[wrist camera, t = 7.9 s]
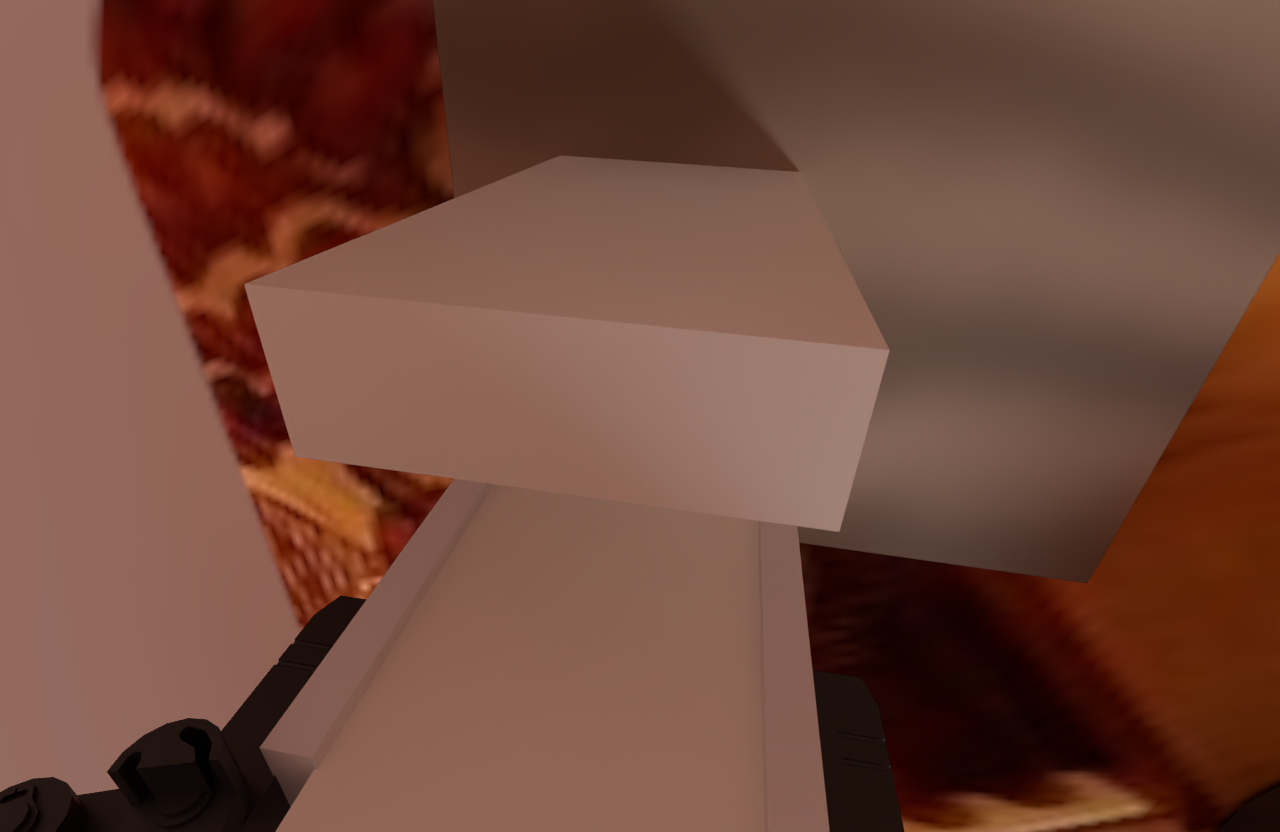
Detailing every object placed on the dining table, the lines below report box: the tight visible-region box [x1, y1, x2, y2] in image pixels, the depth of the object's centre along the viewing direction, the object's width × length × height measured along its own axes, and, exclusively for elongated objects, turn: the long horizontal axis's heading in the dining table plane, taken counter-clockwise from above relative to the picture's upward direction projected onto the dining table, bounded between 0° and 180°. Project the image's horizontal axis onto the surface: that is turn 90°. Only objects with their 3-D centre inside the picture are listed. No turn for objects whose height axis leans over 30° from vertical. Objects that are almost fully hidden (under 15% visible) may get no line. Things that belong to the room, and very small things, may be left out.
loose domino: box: [276, 484, 765, 832], centre depth 10 cm, size 2×6×11 cm, turn 87°
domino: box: [244, 155, 890, 532], centre depth 11 cm, size 2×6×11 cm, turn 87°
